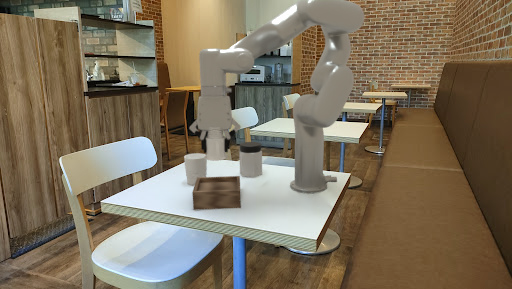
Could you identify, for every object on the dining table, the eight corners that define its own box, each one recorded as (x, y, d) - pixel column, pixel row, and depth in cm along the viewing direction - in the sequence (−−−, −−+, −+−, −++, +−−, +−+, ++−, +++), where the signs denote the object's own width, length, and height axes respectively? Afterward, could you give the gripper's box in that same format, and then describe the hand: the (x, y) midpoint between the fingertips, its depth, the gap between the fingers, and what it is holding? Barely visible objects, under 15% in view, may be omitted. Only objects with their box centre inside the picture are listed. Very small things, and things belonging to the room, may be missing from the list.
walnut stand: (240, 191, 120) (239, 175, 119) (240, 208, 107) (240, 190, 105) (198, 193, 120) (197, 177, 118) (193, 209, 106) (192, 192, 105)
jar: (249, 179, 133) (249, 147, 130) (235, 174, 139) (234, 144, 136) (266, 173, 139) (266, 143, 137) (252, 169, 145) (251, 140, 142)
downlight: (203, 155, 113) (201, 124, 110) (225, 153, 115) (224, 122, 112) (206, 162, 106) (204, 129, 103) (229, 161, 107) (228, 128, 105)
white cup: (203, 186, 126) (202, 159, 123) (182, 185, 127) (180, 158, 125) (210, 179, 133) (209, 153, 131) (190, 178, 135) (189, 152, 132)
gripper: (242, 90, 110) (243, 148, 114) (185, 91, 109) (189, 149, 113) (243, 92, 102) (244, 154, 106) (182, 93, 102) (185, 155, 105)
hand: (216, 151), depth 110 cm, fingers closed on downlight, 5 cm apart
